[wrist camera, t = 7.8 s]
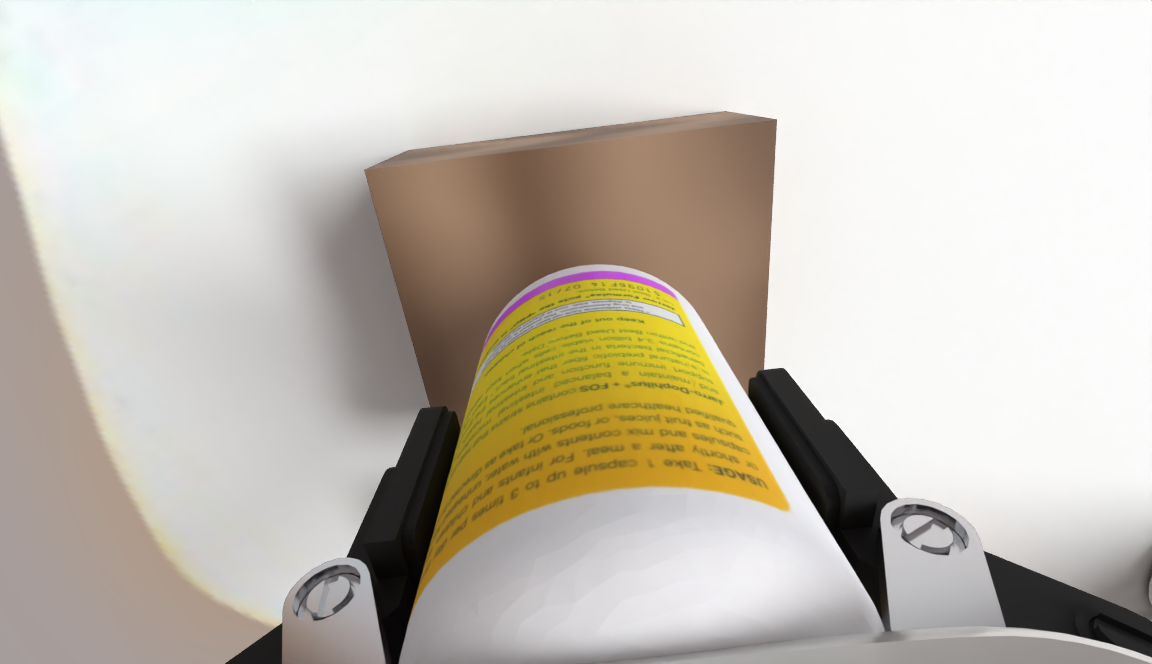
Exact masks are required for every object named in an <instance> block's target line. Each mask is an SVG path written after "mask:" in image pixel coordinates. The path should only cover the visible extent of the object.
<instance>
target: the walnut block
mask: <svg viewBox="0 0 1152 664" xmlns="http://www.w3.org/2000/svg"><path fill="white" fill-rule="evenodd" d="M776 126H777V119H771V118H764V117H758V116H752V115H746V114H739V113H733V112H727V111H724V112H716V113H708V114H700V115H692V116H684V117H676V118H667V119H659V120H651V121H643V122H635V123H627V124H619V125H610V126H602V127H594V128H586V129H578V130H570V131H562V132H554V133H545V134H537V135H529V136H521V137H513V138H505V139H497V140H488V141H480V142H472V143H464V144H456V145H448V146H440V147H431V148H423V149H415V150H408V151H406V152H404V153H402V154H399V155H397V156H395V157H393V158H390V159H388V160H386V161H383V162H381V163H379V164H377V165H374V166H372V167H370V168H368V169H365V170H364V171H365V174H366V178H367V182H368V185H369V189H370V192H371V196H372V199H373V203H374V207H375V210H376V214H377V217H378V221H379V224H380V228H381V232H382V235H383V239H384V242H385V246H386V249H387V253H388V257H389V260H390V264H391V267H392V271H393V274H394V278H395V282H396V285H397V289H398V292H399V296H400V300H401V303H402V307H403V310H404V314H405V317H406V321H407V325H408V328H409V332H410V335H411V339H412V342H413V346H414V350H415V353H416V357H417V360H418V364H419V367H420V371H421V375H422V378H423V382H424V385H425V389H426V393H427V396H428V400H429V403H430V407H439V406H446V407H447V409H448V411H455V412H456V414H457V417H458V421H459V425H460V429H461V428H462V424H463V420H464V417H465V413H466V409H467V405H468V402H469V398H470V394H471V390H472V386H473V383H474V379H475V375H476V371H477V368H478V364H479V360H480V356H481V353H482V350H483V347H484V344H485V341H486V338H487V335H488V333H489V331H490V329H491V327H492V325H493V323H494V322H495V320H496V318H497V317H498V316H499V314H500V313H501V311H502V310H503V309H504V308H505V307H506V305H507V304H508V303H509V302H510V301H511V300H512V299H513V298H514V297H515V296H516V295H518V294H519V293H520V292H521V291H522V290H524V289H525V288H526V287H528V286H529V285H531V284H532V283H534V282H535V281H537V280H539V279H541V278H543V277H545V276H547V275H550V274H552V273H555V272H558V271H560V270H564V269H568V268H572V267H576V266H583V265H595V264H604V265H616V266H624V267H628V268H632V269H636V270H639V271H642V272H645V273H647V274H650V275H652V276H654V277H656V278H658V279H660V280H661V281H663V282H665V283H667V284H668V285H669V286H671V287H672V288H673V289H675V290H676V291H677V292H679V293H680V294H681V295H682V296H683V297H684V298H685V299H686V300H687V301H688V302H689V303H690V304H691V306H692V307H693V308H694V309H695V311H696V312H697V314H698V315H699V317H700V318H701V320H702V322H703V323H704V325H705V326H706V328H707V330H708V331H709V333H710V335H711V336H712V338H713V340H714V341H715V343H716V345H717V347H718V348H719V350H720V352H721V353H722V355H723V357H724V358H725V360H726V362H727V363H728V365H729V367H730V368H731V370H732V372H733V373H734V375H735V376H736V378H737V380H738V381H739V383H740V385H741V386H742V388H743V390H744V391H745V393H746V394H747V396H748V384H749V379H750V378H752V377H756V374H757V372H758V371H759V370H764V357H765V338H766V319H767V299H768V280H769V261H770V241H771V222H772V203H773V184H774V164H775V145H776Z"/></svg>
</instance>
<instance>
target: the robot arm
mask: <svg viewBox="0 0 1152 664" xmlns="http://www.w3.org/2000/svg"><path fill="white" fill-rule="evenodd" d="M748 398H749V399H750V401H751V403H752V404H753V406H754V408H755V409H756V411H757V413H758V414H759V416H760V418H761V419H762V421H763V423H764V424H765V426H766V428H767V429H768V431H769V432H770V434H771V436H772V437H773V439H774V441H775V442H776V444H777V446H778V447H779V449H780V451H781V452H782V454H783V456H784V457H785V459H786V461H787V462H788V464H789V466H790V467H791V469H792V471H793V472H794V474H795V476H796V477H797V479H798V481H799V482H800V484H801V486H802V487H803V489H804V491H805V492H806V494H807V495H808V497H809V499H810V500H811V502H812V504H813V505H814V507H815V508H816V510H817V512H818V513H819V515H820V517H821V518H822V520H823V521H824V523H825V525H826V526H827V528H828V530H829V531H830V533H831V534H832V536H833V538H834V539H835V541H836V542H837V544H838V546H839V547H840V549H841V551H842V552H843V554H844V555H845V557H846V559H847V560H848V562H849V564H850V565H851V567H852V568H853V570H854V572H855V573H856V575H857V577H858V578H859V580H860V582H861V583H862V585H863V587H864V588H865V590H866V592H867V593H868V595H869V597H870V598H871V600H872V602H873V603H874V605H875V607H876V610H877V612H878V614H879V616H880V618H881V621H882V623H883V625H884V628H885V631H886V632H875V633H862V634H850V635H839V636H829V637H818V638H808V639H797V640H787V641H776V642H768V643H760V644H753V645H746V646H738V647H730V648H723V649H715V650H707V651H699V652H691V653H682V654H674V655H665V656H655V657H646V658H636V659H626V660H615V661H605V662H594V663H581V664H1152V622H1151V621H1150V620H1148V619H1146V618H1144V617H1142V616H1140V615H1138V614H1136V613H1134V612H1132V611H1130V610H1128V609H1126V608H1123V607H1121V606H1118V605H1116V604H1113V603H1111V602H1108V601H1106V600H1104V599H1101V598H1099V597H1096V596H1094V595H1091V594H1089V593H1086V592H1084V591H1081V590H1079V589H1076V588H1074V587H1071V586H1069V585H1066V584H1064V583H1062V582H1059V581H1057V580H1054V579H1052V578H1049V577H1047V576H1044V575H1042V574H1039V573H1037V572H1034V571H1032V570H1029V569H1027V568H1024V567H1022V566H1020V565H1017V564H1015V563H1012V562H1010V561H1007V560H1005V559H1002V558H1000V557H997V556H995V555H992V554H990V553H987V552H985V551H983V548H982V544H981V541H980V538H979V536H978V534H977V532H976V530H975V528H974V527H973V526H972V525H971V524H970V523H969V522H968V521H967V520H966V519H965V518H964V517H962V516H961V515H959V514H958V513H956V512H955V511H953V510H952V509H949V508H947V507H945V506H943V505H941V504H938V503H935V502H932V501H928V500H924V499H916V498H903V499H898V498H897V497H896V496H895V495H894V494H893V492H892V491H891V490H890V489H889V487H888V486H887V485H886V484H885V482H884V481H883V480H882V479H881V478H880V476H879V475H878V474H877V473H876V471H875V470H874V469H873V468H872V467H871V465H870V464H869V463H868V462H867V460H866V459H865V458H864V457H863V456H862V454H861V453H860V452H859V451H858V449H857V448H856V447H855V446H854V445H853V443H852V442H851V441H850V440H849V438H848V437H847V436H846V435H845V434H844V432H843V431H842V430H841V429H840V427H839V426H838V425H837V424H836V423H835V422H834V421H832V420H829V419H828V420H825V419H824V418H823V416H822V415H821V414H820V413H819V411H818V410H817V409H816V408H815V406H814V405H813V404H812V402H811V401H810V400H809V399H808V397H807V396H806V395H805V394H804V392H803V391H802V390H801V389H800V387H799V386H798V385H797V384H796V382H795V381H794V380H793V379H792V377H791V376H790V375H789V373H788V372H787V371H786V370H785V369H784V368H777V369H768V370H759V371H758V372H757V374H756V377H752V378H750V379H749V384H748ZM460 431H461V429H460V425H459V421H458V417H457V414H456V412H455V411H448V409H447V407H446V406H439V407H430V408H422V409H421V410H420V411H419V413H418V416H417V418H416V420H415V423H414V425H413V427H412V430H411V432H410V434H409V437H408V439H407V442H406V444H405V446H404V449H403V451H402V453H401V456H400V458H399V460H398V463H397V465H396V467H392V468H389V469H387V470H386V472H385V473H384V475H383V477H382V479H381V482H380V484H379V486H378V488H377V491H376V493H375V495H374V497H373V499H372V502H371V504H370V506H369V508H368V511H367V513H366V515H365V517H364V520H363V522H362V524H361V526H360V528H359V531H358V533H357V535H356V537H355V540H354V542H353V544H352V546H351V549H350V551H349V553H348V555H347V558H339V559H335V560H332V561H328V562H325V563H323V564H321V565H320V566H318V567H316V568H314V569H312V570H311V571H310V572H308V573H307V574H306V575H305V576H303V577H302V578H301V579H300V580H299V581H298V582H297V583H296V584H295V585H294V587H293V588H292V589H291V590H290V592H289V594H288V596H287V598H286V599H285V602H284V607H283V619H282V623H281V624H280V625H279V626H277V627H276V628H274V629H273V630H272V631H270V632H269V633H268V634H266V635H265V636H263V637H262V638H261V639H259V640H258V641H256V642H255V643H253V644H252V645H251V646H249V647H248V648H247V649H245V650H244V651H242V652H241V653H239V654H238V655H237V656H235V657H234V658H232V659H231V660H229V661H228V662H227V663H225V664H399V660H400V655H401V651H402V647H403V643H404V639H405V635H406V631H407V626H408V622H409V619H410V615H411V612H412V608H413V605H414V601H415V598H416V594H417V590H418V587H419V583H420V579H421V576H422V572H423V568H424V564H425V561H426V557H427V553H428V550H429V546H430V543H431V539H432V536H433V532H434V528H435V525H436V521H437V517H438V513H439V509H440V505H441V502H442V498H443V494H444V490H445V487H446V483H447V479H448V476H449V473H450V469H451V465H452V461H453V457H454V454H455V450H456V446H457V443H458V439H459V435H460ZM1149 600H1150V603H1151V605H1152V577H1151V580H1150V583H1149Z"/></svg>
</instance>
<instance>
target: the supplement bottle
mask: <svg viewBox="0 0 1152 664" xmlns="http://www.w3.org/2000/svg"><path fill="white" fill-rule="evenodd" d="M875 632H886V631H885V628H884V625H883V623H882V621H881V618H880V616H879V614H878V612H877V610H876V607H875V605H874V603H873V602H872V600H871V598H870V597H869V595H868V593H867V592H866V590H865V588H864V587H863V585H862V583H861V582H860V580H859V578H858V577H857V575H856V573H855V572H854V570H853V568H852V567H851V565H850V564H849V562H848V560H847V559H846V557H845V555H844V554H843V552H842V551H841V549H840V547H839V546H838V544H837V542H836V541H835V539H834V538H833V536H832V534H831V533H830V531H829V530H828V528H827V526H826V525H825V523H824V521H823V520H822V518H821V517H820V515H819V513H818V512H817V510H816V508H815V507H814V505H813V504H812V502H811V500H810V499H809V497H808V495H807V494H806V492H805V491H804V489H803V487H802V486H801V484H800V482H799V481H798V479H797V477H796V476H795V474H794V472H793V471H792V469H791V467H790V466H789V464H788V462H787V461H786V459H785V457H784V456H783V454H782V452H781V451H780V449H779V447H778V446H777V444H776V442H775V441H774V439H773V437H772V436H771V434H770V432H769V431H768V429H767V428H766V426H765V424H764V423H763V421H762V419H761V418H760V416H759V414H758V413H757V411H756V409H755V408H754V406H753V404H752V403H751V401H750V399H749V398H748V396H747V394H746V393H745V391H744V390H743V388H742V386H741V385H740V383H739V381H738V380H737V378H736V376H735V375H734V373H733V372H732V370H731V368H730V367H729V365H728V363H727V362H726V360H725V358H724V357H723V355H722V353H721V352H720V350H719V348H718V347H717V345H716V343H715V341H714V340H713V338H712V336H711V335H710V333H709V331H708V330H707V328H706V326H705V325H704V323H703V322H702V320H701V318H700V317H699V315H698V314H697V312H696V311H695V309H694V308H693V307H692V306H691V304H690V303H689V302H688V301H687V300H686V299H685V298H684V297H683V296H682V295H681V294H680V293H679V292H677V291H676V290H675V289H673V288H672V287H671V286H669V285H668V284H667V283H665V282H663V281H661V280H660V279H658V278H656V277H654V276H652V275H650V274H647V273H645V272H642V271H639V270H636V269H632V268H628V267H624V266H616V265H604V264H595V265H583V266H576V267H572V268H568V269H564V270H560V271H558V272H555V273H552V274H550V275H547V276H545V277H543V278H541V279H539V280H537V281H535V282H534V283H532V284H531V285H529V286H528V287H526V288H525V289H524V290H522V291H521V292H520V293H519V294H518V295H516V296H515V297H514V298H513V299H512V300H511V301H510V302H509V303H508V304H507V305H506V307H505V308H504V309H503V310H502V311H501V313H500V314H499V316H498V317H497V318H496V320H495V322H494V323H493V325H492V327H491V329H490V331H489V333H488V335H487V338H486V341H485V344H484V347H483V350H482V353H481V356H480V360H479V364H478V368H477V371H476V375H475V379H474V383H473V386H472V390H471V394H470V398H469V402H468V405H467V409H466V413H465V417H464V420H463V424H462V428H461V431H460V435H459V439H458V443H457V446H456V450H455V454H454V457H453V461H452V465H451V469H450V473H449V476H448V479H447V483H446V487H445V490H444V494H443V498H442V502H441V505H440V509H439V513H438V517H437V521H436V525H435V528H434V532H433V536H432V539H431V543H430V546H429V550H428V553H427V557H426V561H425V564H424V568H423V572H422V576H421V579H420V583H419V587H418V590H417V594H416V598H415V601H414V605H413V608H412V612H411V615H410V619H409V622H408V626H407V631H406V635H405V639H404V643H403V647H402V651H401V655H400V660H399V664H581V663H594V662H605V661H615V660H626V659H636V658H646V657H655V656H665V655H674V654H682V653H691V652H699V651H707V650H715V649H723V648H730V647H738V646H746V645H753V644H760V643H768V642H776V641H787V640H797V639H808V638H818V637H829V636H839V635H850V634H862V633H875Z"/></svg>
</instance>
